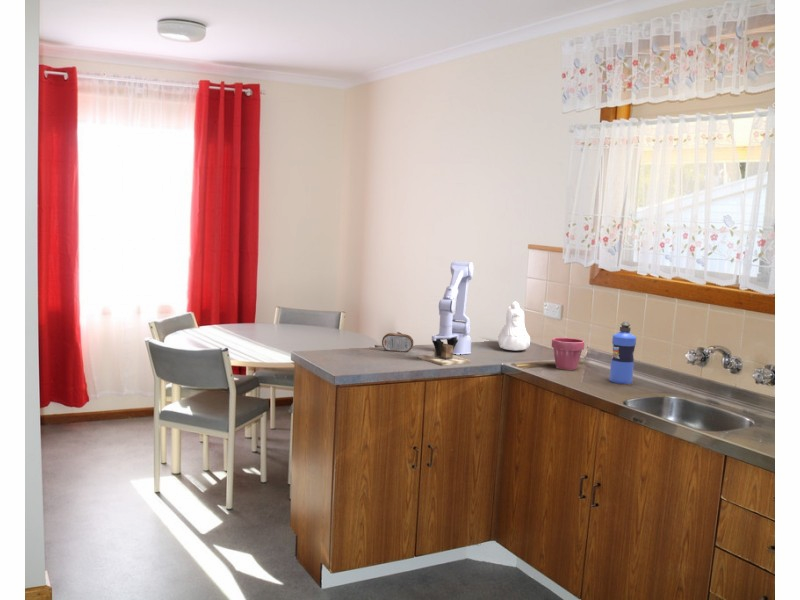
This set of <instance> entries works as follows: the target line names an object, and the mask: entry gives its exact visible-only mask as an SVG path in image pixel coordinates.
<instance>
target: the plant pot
mask: <svg viewBox="0 0 800 600" xmlns="http://www.w3.org/2000/svg"><path fill="white" fill-rule="evenodd" d="M551 348H552V349H553V355H554V362H555V367H556V369H561V370H568V371H572V370H577V368H578V366H579V362H580V359H581V356H582V355H581V354H582V351H584V349H585V341H584V340H583V339H579V338H573V337H553V338H552V339H551Z"/></svg>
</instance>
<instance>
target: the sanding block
mask: <svg viewBox="0 0 800 600" xmlns="http://www.w3.org/2000/svg"><path fill="white" fill-rule="evenodd" d="M433 354H434V357H438V358H442V359H445V360H447V359H453V355H454V354H453V346H452V345H448V344H447V343H443V345H442V350H441V356H437V354H436V349H435V348H434V353H433Z"/></svg>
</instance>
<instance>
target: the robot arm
mask: <svg viewBox="0 0 800 600" xmlns="http://www.w3.org/2000/svg"><path fill="white" fill-rule="evenodd" d="M474 268H475V267H474V263H473V262H472V261H470V262H469V261H456V260H452V262H451V264H450V273H451V278H450V279H451V280H450V283H449V286H447V287H446V288H445V290H444V294H443V297H442V298H441V299H440V300H439V302H438V314H439V329H438V330H439V331H438V334H436V335H431V341H432V344H433V346H434V350H435V349H436V354H437V356H441V350H442V345H443V343H444V340H446V344H448V345H452V346H453V355H455V354H456V355H455V356H459V355H460V354H461V355H471V354H472V352H471V349H472V339H471V336H470V335H469V334H470V333H471V319H470V318H469V316H468V315H466V310H467V300H468V291H469V284H470V281H472V280H473V277H474V271H475V270H474ZM454 312H455V314H454ZM442 340H443V341H442ZM444 344H445V343H444Z"/></svg>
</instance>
